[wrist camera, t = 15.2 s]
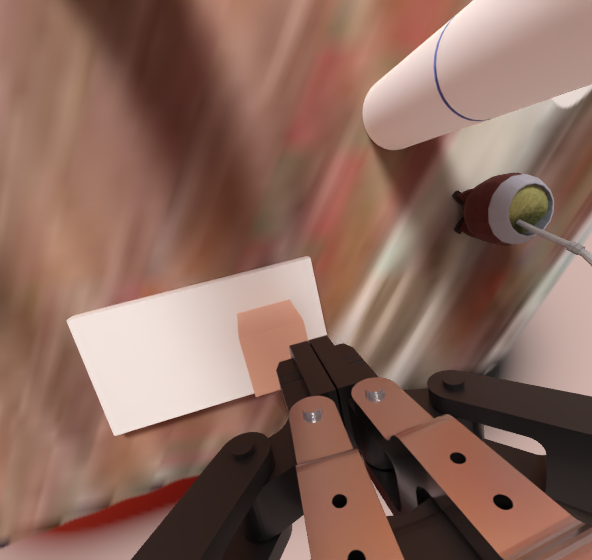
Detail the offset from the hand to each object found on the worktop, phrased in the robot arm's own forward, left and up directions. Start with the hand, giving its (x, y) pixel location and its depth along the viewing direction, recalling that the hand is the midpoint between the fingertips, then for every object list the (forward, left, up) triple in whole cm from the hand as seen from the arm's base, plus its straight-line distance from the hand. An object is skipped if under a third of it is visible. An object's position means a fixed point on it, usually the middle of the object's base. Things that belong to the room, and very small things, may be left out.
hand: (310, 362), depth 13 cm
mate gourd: (+19, +16, -24) cm, 35 cm away
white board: (-1, -10, -24) cm, 25 cm away
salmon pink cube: (+4, -6, -22) cm, 23 cm away
